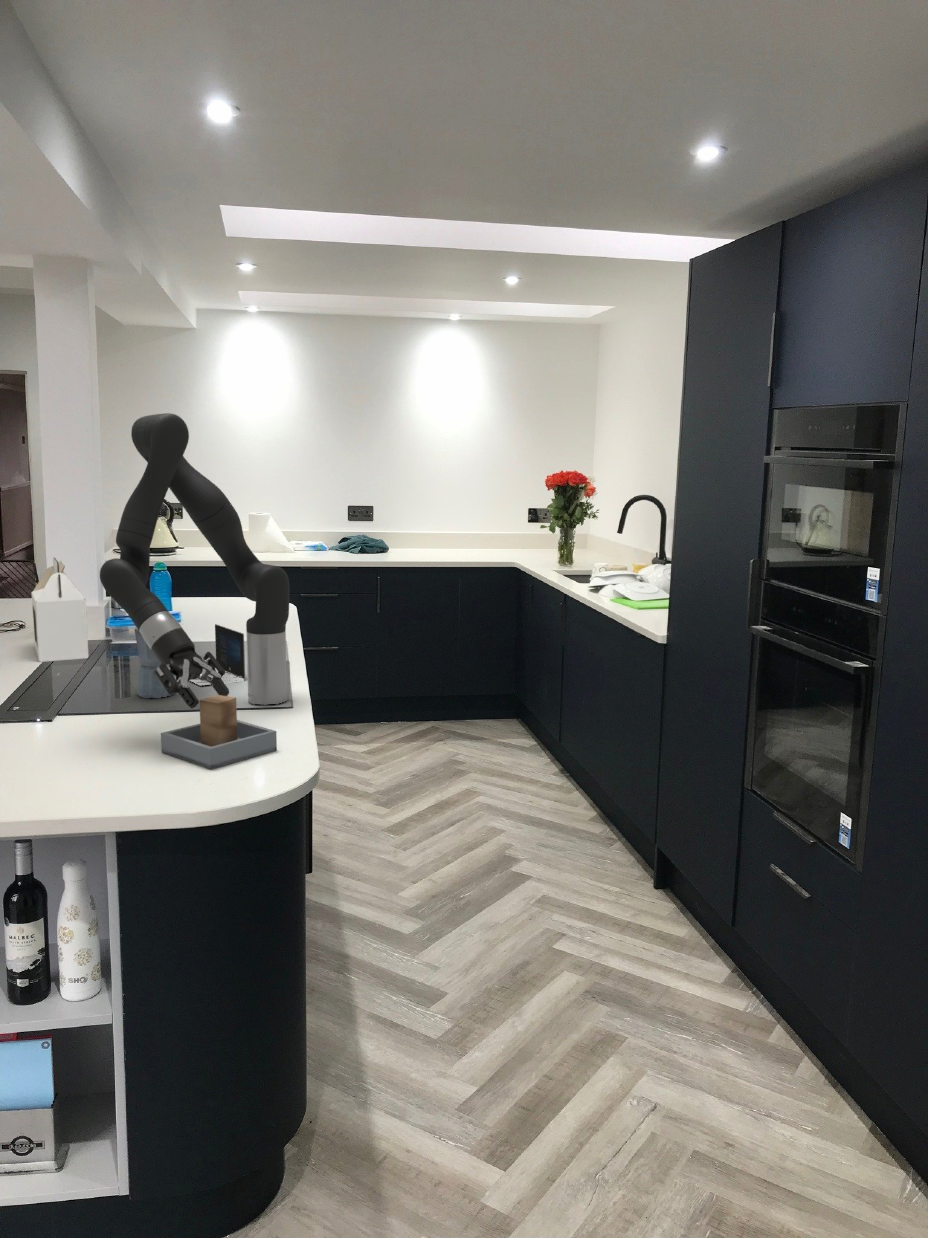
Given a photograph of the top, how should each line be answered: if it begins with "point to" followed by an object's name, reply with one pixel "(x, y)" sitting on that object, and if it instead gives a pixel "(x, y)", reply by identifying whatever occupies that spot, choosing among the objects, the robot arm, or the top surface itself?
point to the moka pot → (148, 671)
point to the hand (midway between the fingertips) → (211, 700)
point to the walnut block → (218, 720)
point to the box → (246, 746)
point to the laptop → (229, 652)
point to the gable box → (59, 617)
